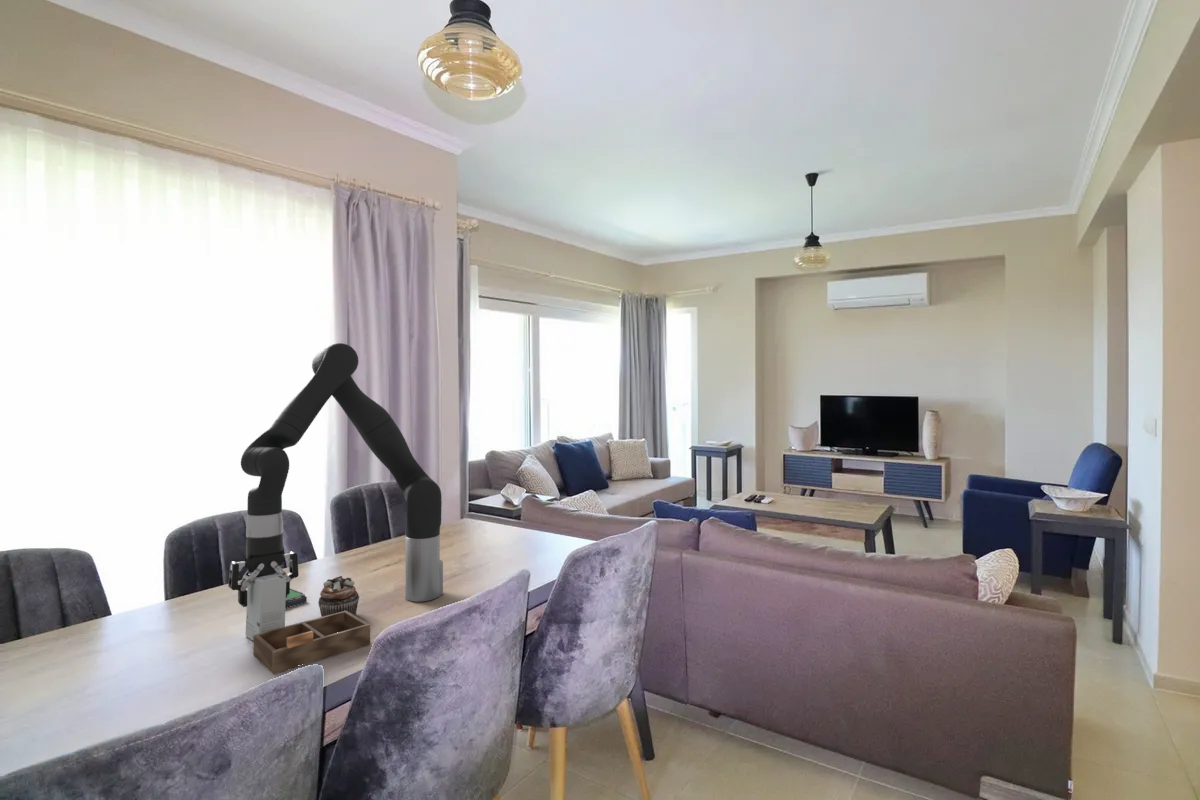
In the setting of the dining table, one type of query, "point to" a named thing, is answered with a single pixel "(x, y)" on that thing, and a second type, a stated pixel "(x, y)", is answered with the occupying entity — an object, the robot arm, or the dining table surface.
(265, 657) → the compartment tray
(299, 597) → the disk drive
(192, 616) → the dining table surface
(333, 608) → the cupcake
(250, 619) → the skincare box
